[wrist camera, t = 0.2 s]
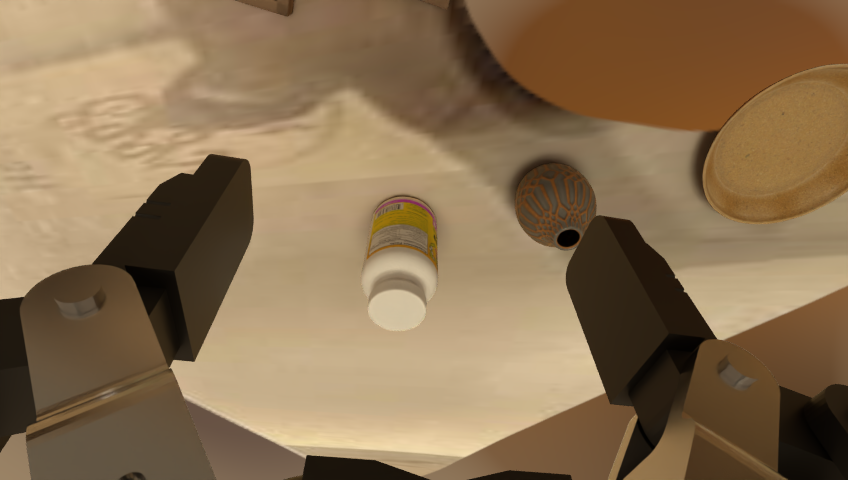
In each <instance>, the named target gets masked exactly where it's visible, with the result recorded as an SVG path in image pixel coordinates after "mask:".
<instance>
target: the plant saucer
mask: <svg viewBox="0 0 848 480" xmlns="http://www.w3.org/2000/svg"><path fill="white" fill-rule="evenodd" d="M702 180H703V188H704V192H705V195H706V198H707V200H708V202H709V203H710V205H711V206H712V207H713V208H714V209H715V210H716V211H717V212H718V213H720V214H721V215H722V216H724V217H726V218H728V219H730V220H734V221H737V222H741V223H748V224H769V223H777V222H782V221H786V220H789V219H793V218H797V217H800V216H803V215H805V214H808V213H810V212H813V211H815V210H817V209H819V208H820V207H823V206H825V205H827V204H829V203H830V202H832V201H834V200H835V199H837V198H838V197H840V196H841V195H843V194H844V193H845V192H847V191H848V64H832V65H824V66H820V67H815V68H811V69H808V70H805V71H802V72H799V73H796V74H794V75H791V76H789V77H787V78H784V79H782V80H780V81H778V82H776V83H774V84H772V85H771V86H769V87H767V88H765V89H764V90H762V91H761V92H759V93H758V94H756V95H755V96H753V97H752V98H751V99H749V100H748V101H747V102H746V103H744V104H743V105H742V106H741V107H740V108H739V109H738V110H737V111H736V112H735V113H734V114H733V115H732V116H731V117H730V118H729V119H728V121H727V122H726V123H725V124H724V125H723V127H722V128H721V129H720V131H719V132H718V134H717V135H716V137H715V139H714V141H713V142H712V144H711V146H710V149H709V151H708V154H707V157H706V160H705V163H704V168H703V176H702Z"/></svg>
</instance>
